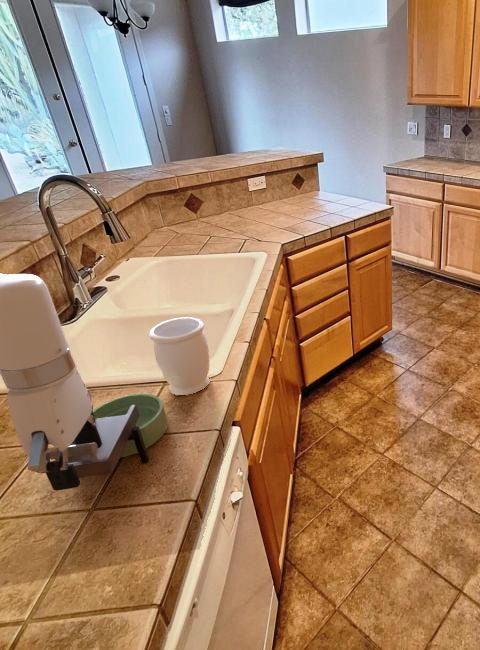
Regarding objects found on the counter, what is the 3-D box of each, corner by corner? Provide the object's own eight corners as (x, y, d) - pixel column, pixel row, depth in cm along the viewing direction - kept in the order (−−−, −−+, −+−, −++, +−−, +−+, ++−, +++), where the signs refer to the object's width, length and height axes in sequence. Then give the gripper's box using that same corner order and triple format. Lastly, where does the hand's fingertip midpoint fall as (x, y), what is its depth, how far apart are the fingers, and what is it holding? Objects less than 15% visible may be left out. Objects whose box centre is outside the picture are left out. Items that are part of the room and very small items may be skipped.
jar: (199, 367, 104) (186, 312, 98) (224, 382, 99) (213, 324, 92) (155, 388, 96) (138, 329, 90) (180, 405, 91) (165, 344, 84)
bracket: (80, 473, 74) (66, 439, 71) (82, 468, 75) (69, 435, 72) (147, 463, 76) (137, 429, 73) (149, 458, 77) (138, 426, 74)
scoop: (52, 484, 64) (38, 454, 61) (91, 421, 76) (81, 394, 74) (110, 475, 65) (99, 446, 63) (139, 415, 78) (131, 389, 75)
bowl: (76, 466, 75) (67, 444, 73) (105, 418, 87) (97, 398, 85) (158, 454, 78) (152, 432, 76) (175, 409, 90) (170, 389, 88)
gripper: (40, 338, 64) (77, 431, 71) (-39, 412, 48) (19, 520, 56) (96, 333, 65) (126, 425, 73) (37, 403, 50) (83, 509, 57)
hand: (79, 466), depth 64 cm, fingers open, 7 cm apart
